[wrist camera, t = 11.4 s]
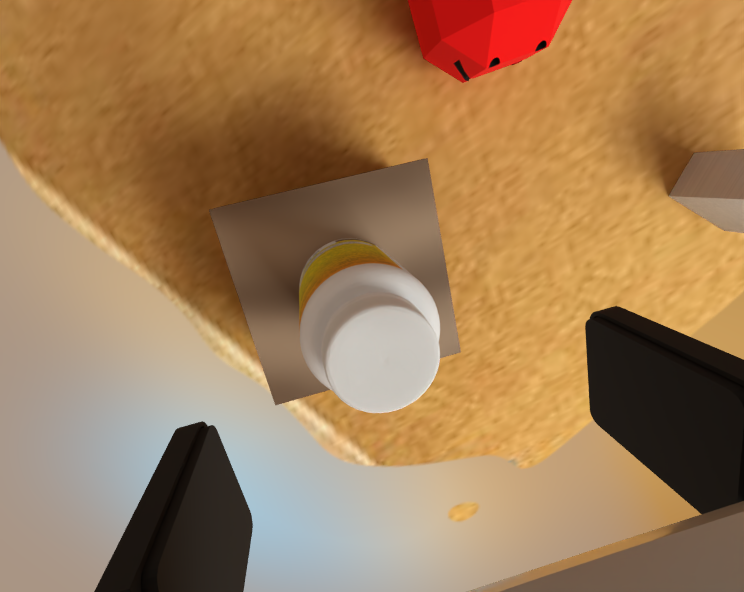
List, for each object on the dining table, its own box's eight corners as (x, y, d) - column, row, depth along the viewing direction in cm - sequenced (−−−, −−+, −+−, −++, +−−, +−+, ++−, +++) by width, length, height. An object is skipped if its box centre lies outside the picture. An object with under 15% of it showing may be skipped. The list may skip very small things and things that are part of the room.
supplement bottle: (278, 291, 23) (261, 375, 13) (344, 215, 22) (378, 242, 12) (353, 349, 24) (388, 462, 15) (416, 280, 24) (496, 348, 14)
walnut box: (231, 203, 28) (208, 209, 21) (398, 163, 29) (427, 158, 22) (281, 357, 31) (275, 405, 24) (427, 316, 32) (460, 352, 26)
